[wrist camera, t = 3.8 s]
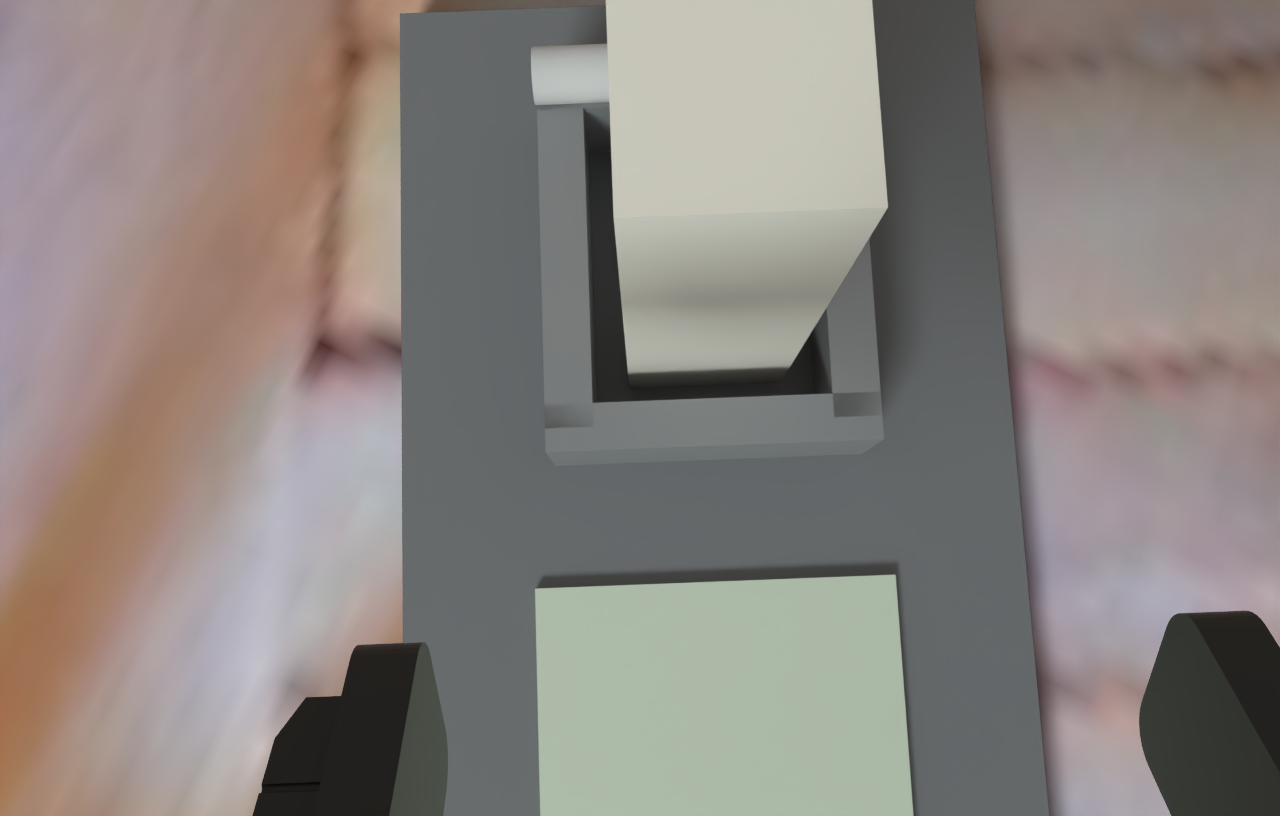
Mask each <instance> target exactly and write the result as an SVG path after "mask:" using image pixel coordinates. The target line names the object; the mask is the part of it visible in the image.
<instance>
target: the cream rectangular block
mask: <svg viewBox="0 0 1280 816" xmlns="http://www.w3.org/2000/svg"><path fill="white" fill-rule="evenodd" d="M606 21H607V49H608V77H609V104H610V132H611V160H612V188H613V215H614V228H615V239H616V250H617V260H618V271H619V282H620V293H621V304H622V314H623V325H624V336H625V347H626V358H627V369H628V379H629V388H637V387H663V386H688V385H714V384H739V383H765V382H781V381H782V379H783V378H784V376H785V374H786V373H787V371H788V370H789V368H790V366H791V365H792V363H793V361H794V360H795V358H796V357H797V355H798V353H799V352H800V350H801V348H802V347H803V345H804V343H805V342H806V340H807V339H808V337H809V335H810V334H811V332H812V330H813V329H814V327H815V326H816V324H817V322H818V321H819V319H820V317H821V316H822V314H823V313H824V311H825V309H826V308H827V306H828V304H829V303H830V301H831V300H832V298H833V296H834V295H835V293H836V291H837V290H838V288H839V286H840V285H841V283H842V282H843V280H844V278H845V277H846V275H847V273H848V272H849V270H850V269H851V267H852V265H853V264H854V262H855V260H856V259H857V257H858V256H859V254H860V252H861V251H862V249H863V247H864V246H865V244H866V243H867V241H868V239H869V238H870V236H871V234H872V233H873V231H874V230H875V228H876V226H877V225H878V223H879V221H880V220H881V218H882V216H883V215H884V213H885V212H886V210H887V208H888V201H887V188H886V175H885V162H884V149H883V136H882V123H881V110H880V97H879V84H878V70H877V57H876V44H875V31H874V18H873V5H872V0H606Z"/></svg>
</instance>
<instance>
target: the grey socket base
mask: <svg viewBox="0 0 1280 816" xmlns="http://www.w3.org/2000/svg"><path fill="white" fill-rule="evenodd" d="M872 5H873V18H874V31H875V44H876V57H877V70H878V84H879V97H880V110H881V123H882V136H883V149H884V162H885V175H886V188H887V201H888V208H887V210H886V212H885V213H884V215H883V216H882V218H881V220H880V221H879V223H878V225H877V226H876V228H875V230H874V231H873V233H872V234H871V236H870V238H869V239H868V241H867V243H866V244H865V246H864V247H863V249H862V251H861V252H860V254H859V256H858V257H857V259H856V260H855V262H854V264H853V265H852V267H851V269H850V270H849V272H848V273H847V275H846V277H845V278H844V280H843V282H842V283H841V285H840V286H839V288H838V290H837V291H836V293H835V295H834V296H833V298H832V300H831V301H830V303H829V304H828V306H827V308H826V309H825V311H824V313H823V314H822V316H821V317H820V319H819V321H818V322H817V324H816V326H815V327H814V329H813V330H812V332H811V334H810V335H809V337H808V339H807V340H806V342H805V343H804V345H803V347H802V348H801V350H800V352H799V353H798V355H797V357H796V358H795V360H794V361H793V363H792V365H791V366H790V368H789V370H788V371H787V373H786V374H785V376H784V378H783V379H782V381H781V382H765V383H739V384H714V385H688V386H663V387H637V388H629V379H628V369H627V358H626V347H625V336H624V325H623V314H622V304H621V293H620V282H619V271H618V260H617V250H616V239H615V228H614V215H613V188H612V160H611V132H610V104H609V77H608V49H607V21H606V6H581V7H556V8H531V9H505V10H480V11H454V12H429V13H404V14H400V109H401V329H402V549H403V643H419V642H425V643H426V644H427V646H428V648H429V652H430V656H431V661H432V665H433V670H434V675H435V680H436V685H437V690H438V695H439V700H440V704H441V709H442V714H443V719H444V724H445V729H446V735H447V746H448V779H447V790H446V798H445V806H444V813H443V816H1049V808H1048V797H1047V786H1046V775H1045V765H1044V754H1043V743H1042V732H1041V721H1040V710H1039V700H1038V689H1037V678H1036V667H1035V656H1034V645H1033V635H1032V624H1031V613H1030V602H1029V591H1028V580H1027V570H1026V559H1025V548H1024V537H1023V526H1022V515H1021V505H1020V494H1019V483H1018V472H1017V461H1016V451H1015V440H1014V429H1013V418H1012V407H1011V396H1010V386H1009V375H1008V364H1007V353H1006V342H1005V331H1004V321H1003V310H1002V299H1001V288H1000V277H999V266H998V256H997V245H996V234H995V223H994V212H993V201H992V191H991V180H990V169H989V158H988V147H987V136H986V126H985V115H984V104H983V93H982V82H981V72H980V61H979V50H978V39H977V28H976V17H975V7H974V0H872Z"/></svg>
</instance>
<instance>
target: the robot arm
mask: <svg viewBox="0 0 1280 816" xmlns="http://www.w3.org/2000/svg"><path fill="white" fill-rule="evenodd" d="M1139 726H1140V737H1141V742H1142V747H1143V751H1144V755H1145V758H1146V761H1147V763H1148V765H1149V768H1150V770H1151V772H1152V774H1153V777H1154V779H1155V781H1156V783H1157V785H1158V787H1159V790H1160V792H1161V794H1162V796H1163V798H1164V800H1165V803H1166V805H1167V807H1168V809H1169V811H1170V814H1171V816H1280V647H1279V646H1278V644H1277V643H1276V641H1275V639H1274V638H1273V636H1272V635H1271V633H1270V632H1269V630H1268V628H1267V627H1266V625H1265V624H1264V623H1263V621H1262V620H1261V619H1260V618H1259V617H1258V616H1257V615H1256V614H1254V613H1253V612H1250V611H1228V612H1204V613H1180V614H1176V615H1174V616H1173V617H1172V618H1171V619H1170V621H1169V623H1168V625H1167V628H1166V631H1165V634H1164V637H1163V640H1162V643H1161V646H1160V649H1159V652H1158V655H1157V658H1156V661H1155V664H1154V667H1153V670H1152V673H1151V676H1150V679H1149V682H1148V685H1147V688H1146V691H1145V694H1144V697H1143V700H1142V703H1141V707H1140V717H1139ZM447 779H448V746H447V735H446V729H445V724H444V719H443V714H442V709H441V704H440V700H439V695H438V690H437V685H436V680H435V675H434V670H433V665H432V661H431V656H430V652H429V648H428V646H427V644H426V643H425V642H419V643H395V644H371V645H357V646H356V647H355V648H354V650H353V652H352V655H351V658H350V662H349V666H348V670H347V674H346V678H345V683H344V687H343V691H342V695H341V696H331V697H307V698H305V700H304V701H303V702H302V703H301V705H300V706H299V707H298V709H297V710H296V711H295V713H294V714H293V715H292V717H291V718H290V719H289V721H288V722H287V723H286V724H285V726H284V727H283V728H282V730H281V731H280V732H279V734H278V735H277V736H276V738H275V740H274V743H273V747H272V750H271V754H270V757H269V761H268V764H267V768H266V771H265V774H264V778H263V781H262V792H261V793H259V795H258V799H257V802H256V806H255V809H254V813H253V816H443V813H444V806H445V798H446V790H447Z"/></svg>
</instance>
